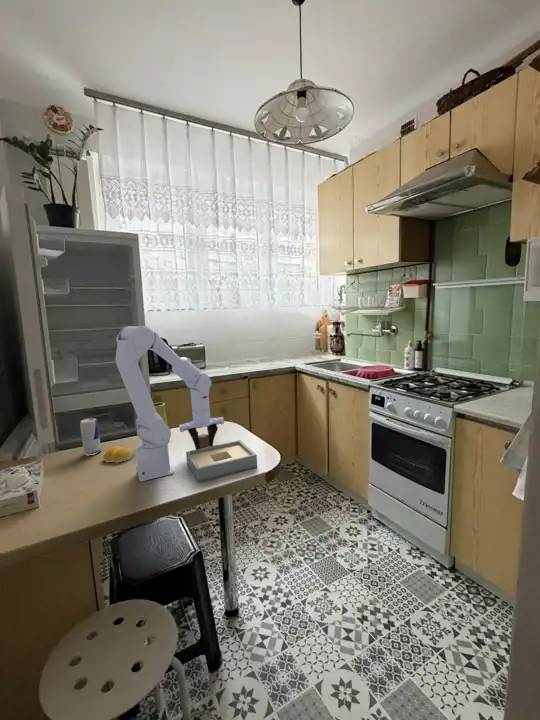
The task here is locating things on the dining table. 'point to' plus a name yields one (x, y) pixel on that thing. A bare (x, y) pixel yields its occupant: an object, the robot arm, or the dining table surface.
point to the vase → (161, 411)
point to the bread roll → (118, 454)
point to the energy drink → (90, 435)
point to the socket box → (220, 460)
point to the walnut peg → (203, 441)
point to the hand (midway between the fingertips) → (204, 448)
